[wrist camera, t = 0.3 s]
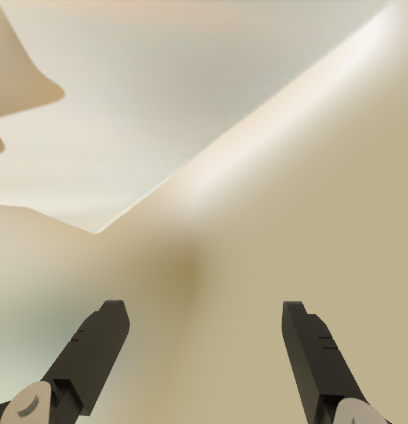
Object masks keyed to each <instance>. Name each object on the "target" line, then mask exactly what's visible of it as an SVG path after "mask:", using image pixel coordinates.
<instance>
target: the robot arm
mask: <svg viewBox="0 0 408 424" xmlns="http://www.w3.org/2000/svg"><path fill="white" fill-rule="evenodd" d="M129 327H130V323H129V318H128V315H127V311H126V309H125V305H124V302H123V301H122V300H107V301H105V302H104V304H103V305H102V306H101V308H100V310H99V311H95V312H94V313H93V314H91V315H90V316H89V317H88V318H87V319H86V320H85V321H84V322H83V323H82V325H81V326H80V327H79V329H78V330H77V333H75V334H74V336H73V337H72V339H71V341H70V342H69V343H68V344H67V345H66V347H65V348H64V350H63V351H62V352H61V353H60V355H59V356H58V358H57V359H56V361H55V362H54V363H53V364H52V366H51V367H50V369H49V370H48V371H47V373H46V374H45V376H44V377H43V378H42V379H41V380H40V382H36V383H33V384H31V385H29V386H28V387H26V388H25V389H23V390H22V391H21V392H20V393H18V394H17V395H16V396H15V397H14V398H13V400H12V401H8V402H5V403H3V404H0V424H75V422H76V420H77V418H78V416H79V415H82V416H90V414H91V412H92V410H93V408H94V406H95V403H96V401H97V399H98V397H99V395H100V393H101V390H102V388H103V386H104V384H105V382H106V380H107V377H108V375H109V373H110V371H111V369H112V367H113V365H114V363H115V361H116V358H117V356H118V354H119V352H120V350H121V348H122V345H123V343H124V341H125V339H126V337H127V335H128V332H129ZM282 334H283V339H284V342H285V346H286V349H287V353H288V356H289V359H290V363H291V366H292V370H293V373H294V377H295V380H296V384H297V387H298V391H299V394H300V398H301V401H302V405H303V408H304V412H305V415H306V418H307V422H308V424H392V423H390V422H389V421H387V420H386V419H384V418H383V417H382V416H381V414H380V413H379V412H378V411H376V410H375V409H374V408H373V407H372V406H371V405H370V404H369V403H368V402H367V401H366V399H365V397H364V396H363V394H362V392H361V390H360V388H359V386H358V385H357V383H356V381H355V379H354V377H353V375H352V373H351V372H350V369H349V368H348V366H347V364H346V362H345V360H344V358H343V356H342V354H341V352H340V351H339V350H338V347H337V345H336V343H335V341H334V340H333V338H332V335H331V333H330V331H329V330H328V328H327V326H326V324H325V323H324V322H323V321H322V320H321V319H320V318H319V317H318V316H317V315H316V314H307V312H306V310H305V308H304V305H303V304H302V302H301V301H297V302H296V301H291V302H290V301H284V303H283V313H282Z"/></svg>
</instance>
